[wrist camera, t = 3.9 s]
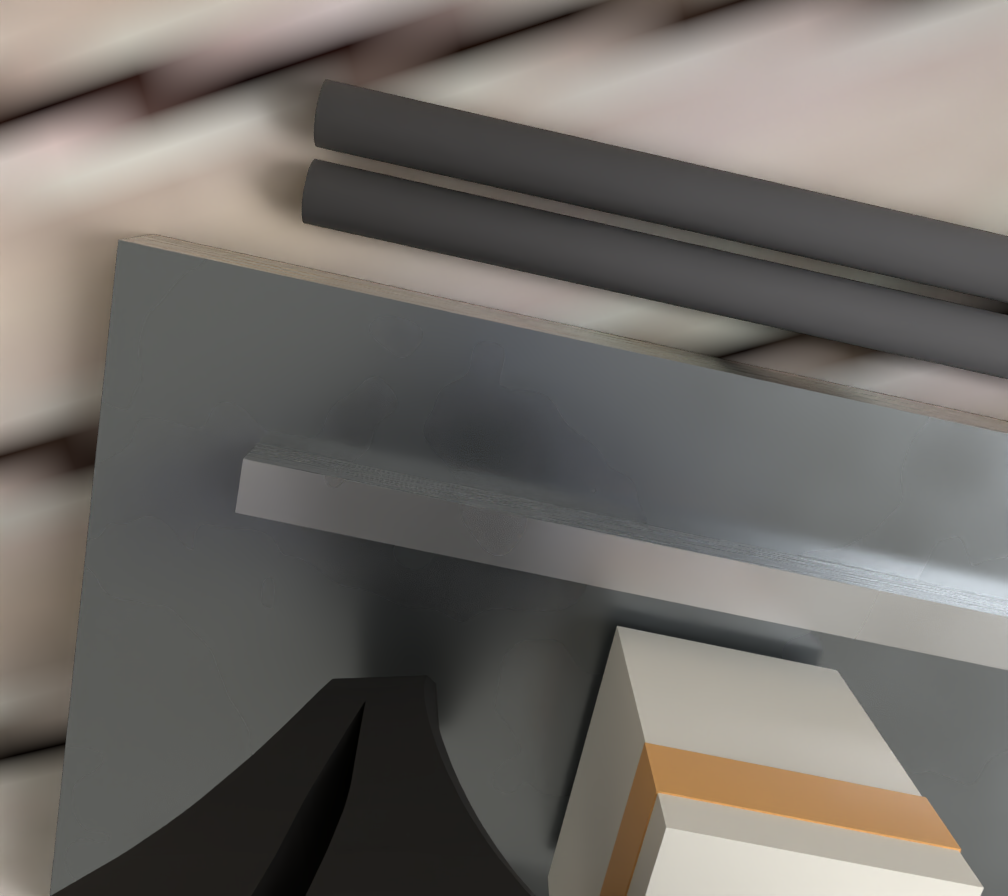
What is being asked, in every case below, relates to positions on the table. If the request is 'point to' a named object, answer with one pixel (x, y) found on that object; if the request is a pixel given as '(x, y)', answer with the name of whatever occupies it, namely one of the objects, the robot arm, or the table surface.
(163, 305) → the panel
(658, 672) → the white and orange block
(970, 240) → the cords
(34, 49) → the table surface
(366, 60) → the table surface
